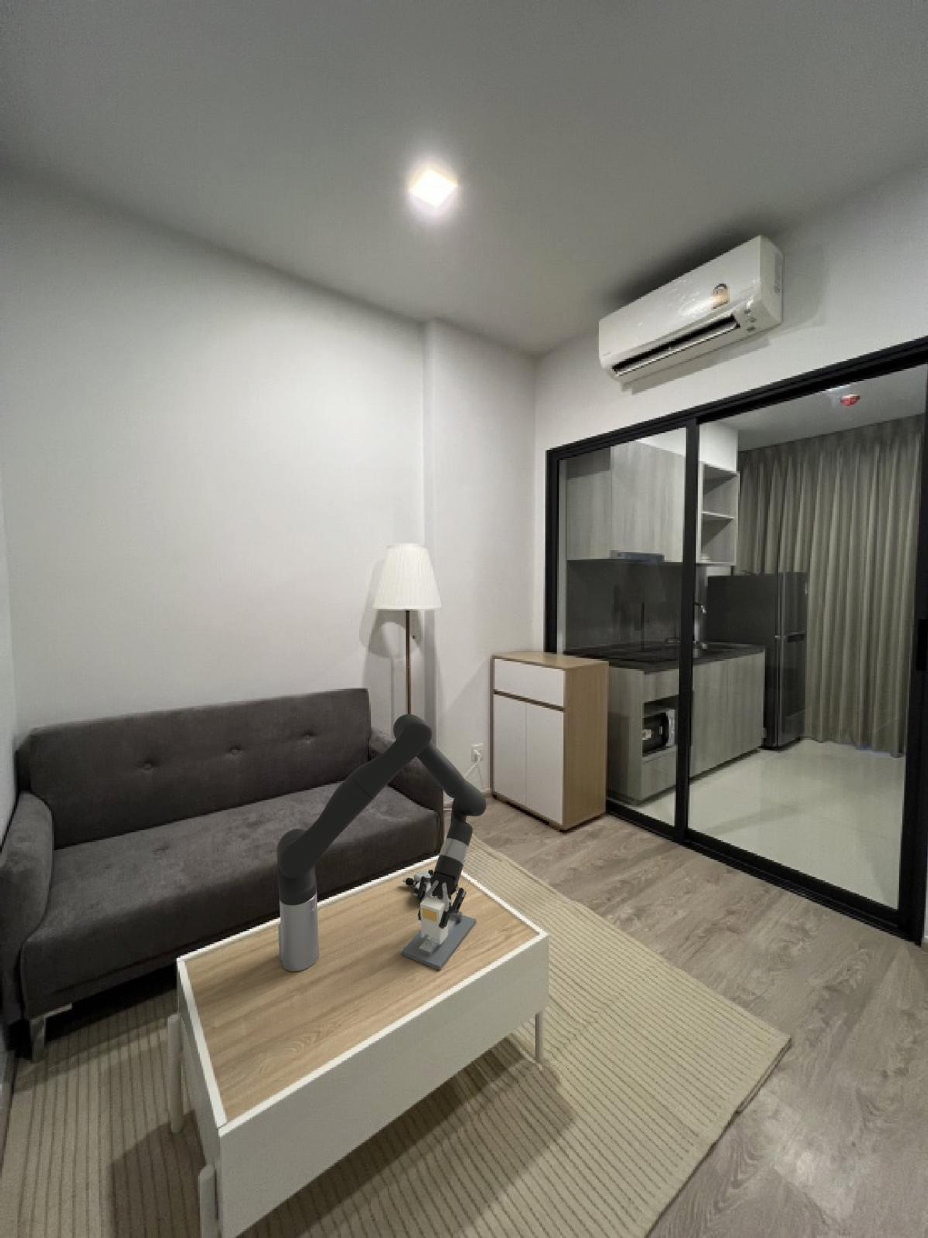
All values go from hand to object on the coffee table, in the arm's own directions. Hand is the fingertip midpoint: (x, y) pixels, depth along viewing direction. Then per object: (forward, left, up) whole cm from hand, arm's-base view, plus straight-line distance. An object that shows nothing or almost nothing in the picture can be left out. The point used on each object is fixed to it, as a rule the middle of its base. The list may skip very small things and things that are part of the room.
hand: (430, 924), depth 129 cm
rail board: (0, +5, -7) cm, 8 cm away
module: (0, +2, -4) cm, 5 cm away
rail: (0, +5, -7) cm, 8 cm away
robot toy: (-15, +21, -7) cm, 27 cm away
